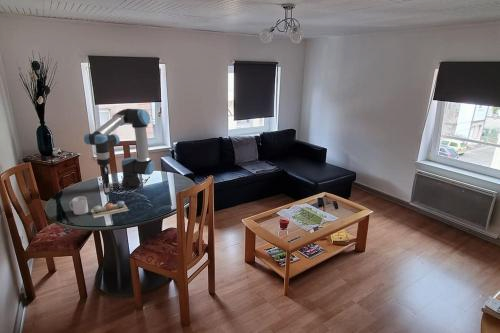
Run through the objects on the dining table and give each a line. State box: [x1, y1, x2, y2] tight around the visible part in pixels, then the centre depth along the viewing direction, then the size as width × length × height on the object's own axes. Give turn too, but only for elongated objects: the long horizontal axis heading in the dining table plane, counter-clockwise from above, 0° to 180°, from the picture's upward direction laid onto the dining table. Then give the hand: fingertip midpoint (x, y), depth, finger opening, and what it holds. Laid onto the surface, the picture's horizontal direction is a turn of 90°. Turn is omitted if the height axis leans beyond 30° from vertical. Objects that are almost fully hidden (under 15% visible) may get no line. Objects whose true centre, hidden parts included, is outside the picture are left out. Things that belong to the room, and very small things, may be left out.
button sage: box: [92, 204, 102, 214], centre depth 209 cm, size 5×5×4 cm
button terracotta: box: [104, 202, 114, 211], centre depth 213 cm, size 5×5×4 cm
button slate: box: [116, 200, 126, 209], centre depth 217 cm, size 5×5×4 cm
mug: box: [69, 195, 89, 216], centre depth 208 cm, size 9×12×11 cm
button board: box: [90, 203, 130, 219], centre depth 213 cm, size 15×22×1 cm
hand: (107, 191), depth 209 cm, fingers closed
